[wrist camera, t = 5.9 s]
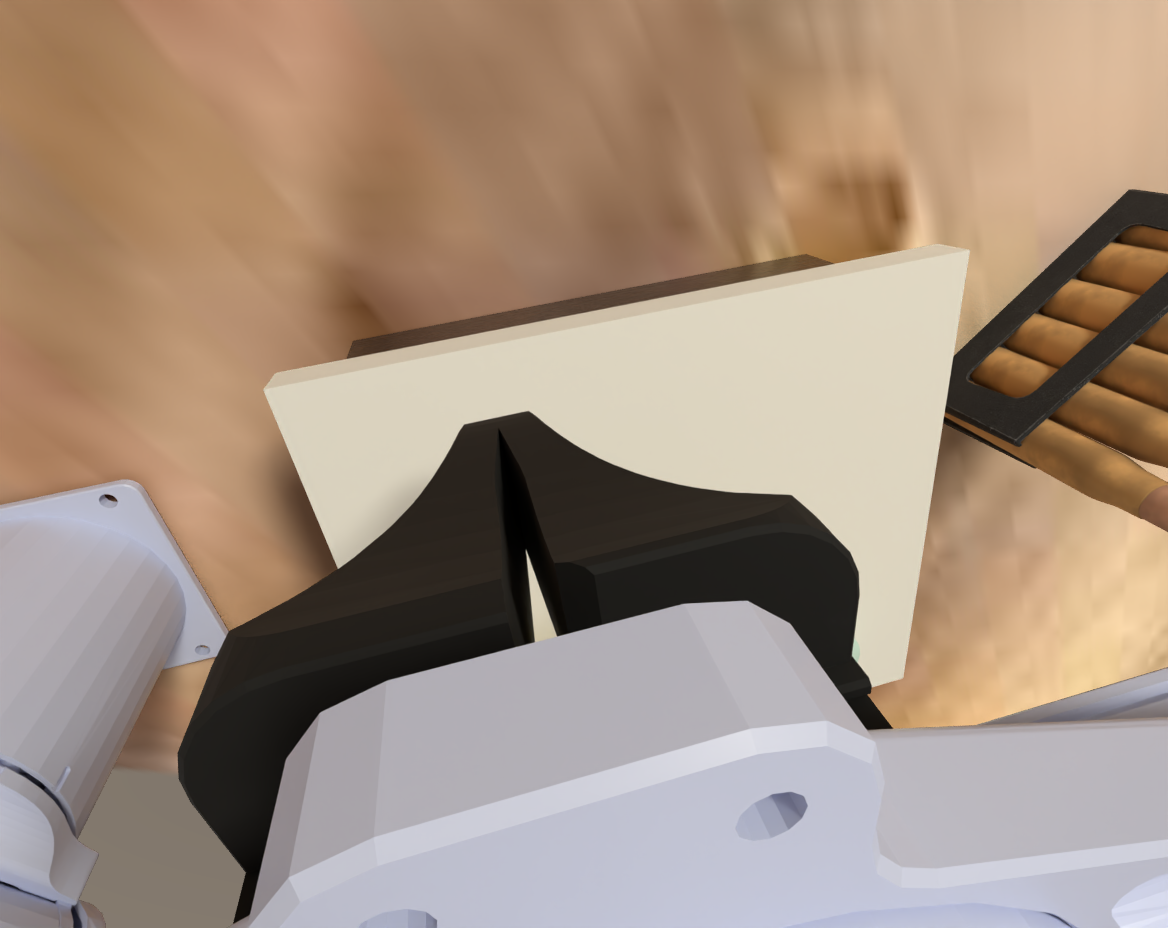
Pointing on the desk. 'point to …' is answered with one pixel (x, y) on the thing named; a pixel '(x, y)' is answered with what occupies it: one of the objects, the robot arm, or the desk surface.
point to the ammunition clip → (1082, 364)
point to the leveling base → (581, 305)
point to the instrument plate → (678, 411)
